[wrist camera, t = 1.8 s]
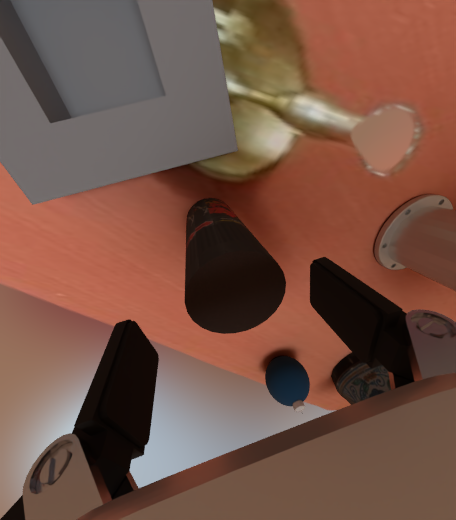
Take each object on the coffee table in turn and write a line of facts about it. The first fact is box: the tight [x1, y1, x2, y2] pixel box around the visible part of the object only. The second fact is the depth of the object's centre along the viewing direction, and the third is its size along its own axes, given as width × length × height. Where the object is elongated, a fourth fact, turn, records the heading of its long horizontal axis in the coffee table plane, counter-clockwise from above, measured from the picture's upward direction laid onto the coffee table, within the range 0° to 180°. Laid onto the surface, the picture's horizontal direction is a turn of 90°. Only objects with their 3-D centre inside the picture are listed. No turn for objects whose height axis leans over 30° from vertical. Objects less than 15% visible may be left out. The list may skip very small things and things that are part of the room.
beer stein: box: [331, 353, 391, 405], centre depth 39 cm, size 16×19×25 cm
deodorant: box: [185, 198, 286, 334], centre depth 17 cm, size 6×6×15 cm
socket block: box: [0, 0, 238, 205], centre depth 14 cm, size 18×18×4 cm
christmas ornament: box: [265, 356, 310, 412], centre depth 37 cm, size 8×8×10 cm
